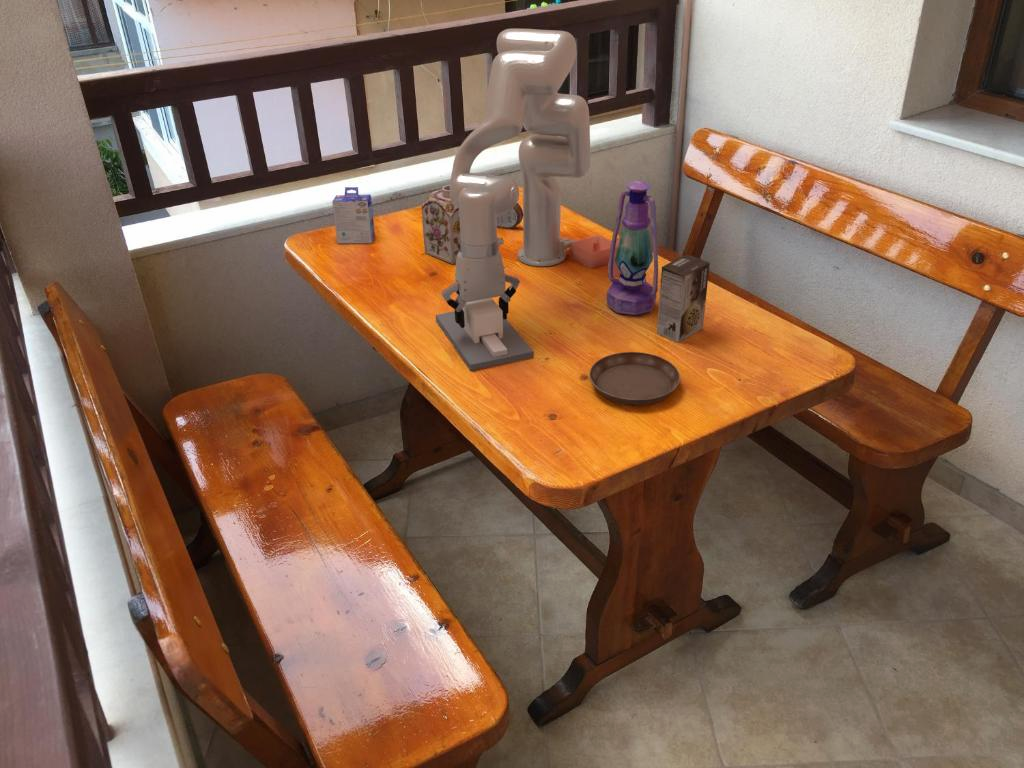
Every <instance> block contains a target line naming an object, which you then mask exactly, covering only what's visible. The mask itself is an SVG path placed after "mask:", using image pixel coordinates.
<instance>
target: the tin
mask: <svg viewBox="0 0 1024 768" xmlns="http://www.w3.org/2000/svg"><path fill="white" fill-rule="evenodd" d="M522 222H523V207H522V206H521V205H520V203H519V202H517V204H516V205H515V206H514V208H513V209H512V210H511V211H509V212H508V213H506V214H503V215H501V216H499V217H497V228H499V229H506V230H512V229H514V228H516V227H517V226H518V225H520V224H521V223H522Z"/></svg>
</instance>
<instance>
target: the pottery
mask: <svg viewBox="0 0 1024 768" xmlns="http://www.w3.org/2000/svg"><path fill="white" fill-rule="evenodd" d="M621 236H622V234H619V235H618V237H617V240H616V245H615V252H614V262H613V277H617V278H619V277H620V273H621V272H620V270H619V268H618V267H617V265H616V262H615V256H616V253H617V249H618V245H619V242H620V238H621ZM611 242H612V239H609V238H606V237H604V236H603V235H600V234H596V235H591V236H589V237H585V238H583V239H578V240H577V241H574V242H571V243H570V247H569V258H570V259H572V260H574V261H576V262H577V263H580V264H581V265H583V266H584V267H587V268H588V269H591V270H593V269H595V268H598V267H601V266H605V265H607V269H608V268H609V254H610V248H611ZM620 278H621V277H620Z"/></svg>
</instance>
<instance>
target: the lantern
mask: <svg viewBox="0 0 1024 768" xmlns="http://www.w3.org/2000/svg"><path fill="white" fill-rule="evenodd" d="M625 187H626V188H627V190H624V191H622V192H621V193H620V197H619V199H618V200H619V202H618V209H617V213H616V218H615V219H616V220H615V224H614V228H613V233H612V236H611V241H612V242H611V248H610V254H609V268H608V267H607V271H608V272H607V277H608V279H609V281H610V282H611V285H610V286H609V287H608V290H607V291H606V305H607V306H608V307H609V308H610V309H612V310H613V311H614V312H616V313H617V314H623V315H624V314H625V315H631V316H637V315H642V314H645V313H651V312H652V310H653V308H654V306H655V303H656V299H657V297H658V296H657V295H658V294H657V293H658V287H659V285H658V284H659V256H658V255H659V253H658V252H659V251H658V232H657V212H656V211H657V209H656V208H657V207H656V201H655V198H654V197H652V196H650V195H648V192H647V191H648V190H650V189H651V188H652V184H650V183H649V182H647V181H643V180H640V179H639V180H633V181H629V182H627V184H626V185H625ZM626 196H627V197H629V198H628V199H629V200H628V202H627V203H626V204H625V199H626ZM624 204H625V215H624V216H622V215H623V210H624ZM649 210H650V217H649ZM622 217H624V218H622ZM621 223H622V225H623V227H624V228H623V231H622V233H621V235H622V236H621V238H620V242H619V245H618V249H617V253H616V256H615V262H616V265H617V267H618V268H619V270H620V272H621V273H620V278H615V276H613V262H614V252H615V245H616V240H617V238H618V236H619V235H618V233H619V231H620V225H621ZM649 225H650V229H651V231H649V230H648V227H649ZM650 232H651V236H650ZM651 241H652V242H651ZM652 262H653V279H652V280H653V281H652V285H651V284H650V283H649V282H647V278H646V277H647V273H646V272H647V271H648V269H649V267H650V266H651V264H652Z"/></svg>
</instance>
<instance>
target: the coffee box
mask: <svg viewBox="0 0 1024 768" xmlns="http://www.w3.org/2000/svg"><path fill="white" fill-rule="evenodd" d="M710 264H711V263H710V262H709V261H706V260H704V259H701V258H699V257H696V256H693V255H690V254H686V253H685V254H684V255H682V256H680V257H677V258H676V259H675V260H672V261H670V262H669V263H667V264H665V265H663V266H661V274H660V287H659V297H658V299H659V300H658V311H657V323H656V324H657V325H656V334H658V335H659V336H662V337H664V338H667V339H669V340H671V341H673V342H677V343H681V342H683V341H684V340H686V339H688V338H690V337H691V336H692V335H694V334H696V333H697V332H699V331H701V330H702V329H703V328H704V321H705V311H706V303H707V293H708V292H707V291H708V284H709V274H710V272H709V271H710Z"/></svg>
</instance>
